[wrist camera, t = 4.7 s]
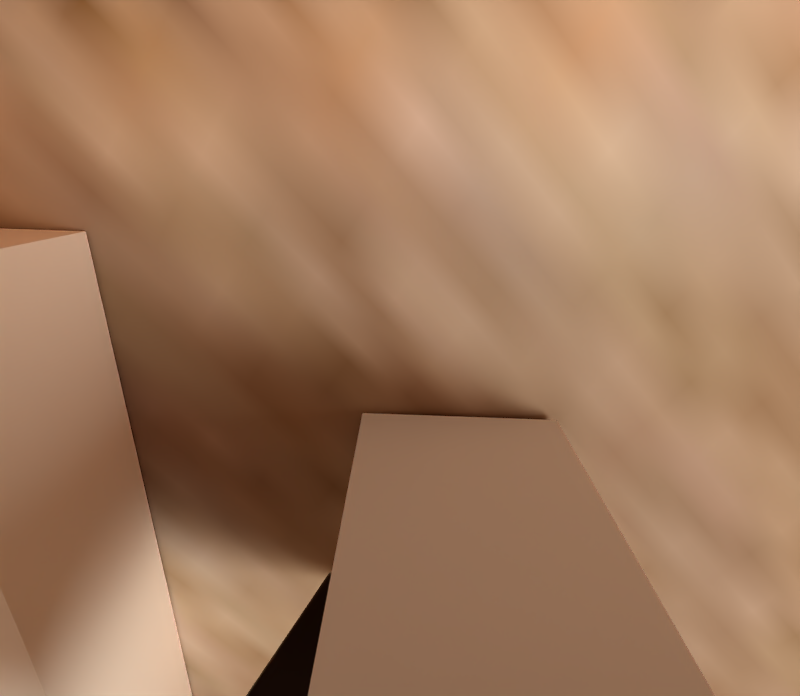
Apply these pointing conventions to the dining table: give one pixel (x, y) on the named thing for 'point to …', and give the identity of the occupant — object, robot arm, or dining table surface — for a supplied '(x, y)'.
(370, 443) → the plug
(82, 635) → the power strip
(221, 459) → the dining table surface
